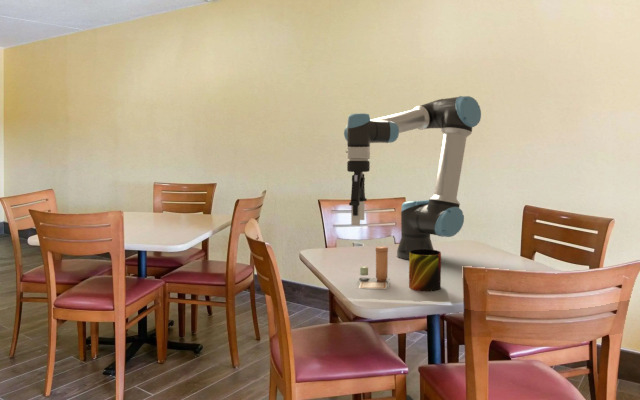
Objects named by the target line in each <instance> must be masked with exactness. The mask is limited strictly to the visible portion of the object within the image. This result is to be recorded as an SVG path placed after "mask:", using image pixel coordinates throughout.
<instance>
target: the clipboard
mask: <svg viewBox="0 0 640 400" xmlns="http://www.w3.org/2000/svg"><path fill="white" fill-rule="evenodd" d="M356 289H357V290H379V291H381V290H384V291H389V290H390V278H389V277H388V278H387V281H385V282H379V281H377V278H376V277H359V278H358V283H357V285H356Z"/></svg>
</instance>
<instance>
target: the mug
mask: <svg viewBox="0 0 640 400" xmlns="http://www.w3.org/2000/svg"><path fill="white" fill-rule="evenodd" d="M408 260H409V261H408V287H409V288H410V289H411V290H412V291H417V292H423V293H425V292H426V293H427V292H429V293H431V292H437V291H439V290H441V287H442V286H441V283H442V282H441V281H442V279H441V278H442V275H441V274H442V271H441V270H442V252H441V251H440V250H437V249H436V250H435V249H434V250H431V249H415V250H411V251H410V252H409V259H408Z"/></svg>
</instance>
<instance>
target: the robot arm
mask: <svg viewBox="0 0 640 400" xmlns="http://www.w3.org/2000/svg"><path fill="white" fill-rule="evenodd" d="M481 119H482V110H481V106H480V105H479V103H478V101H477V100H476V99H475V98H474V97H472V96H469V95H466V96H461V95H459V96H455V97H447V98H440V99H436V100H434V101H430V102H428V103H423V104H422V105H416V106H415V107H414V108H413V109H411V110H407V111H403V112H399V113H394V114H390V115H386V116H381V117H377V118H373V119H371V115H370V114H369V113H364V112H363V113H360V112H359V113H358V112H357V113H350V114H349V115H348V116H347V123H346V127H345V128H344V130H343V135H344V139H345V141H347V149H346V150H345V153H346V154H347V159H348V161H347V162H346V165H347V166H346V168H347V169H346V170H347V172H349V173H353V174H352V175H351V193H350V195H351V196H350V202H349V203H348V206H351V216H350V217H351V218H350V219H351V220H350V221H351V226H361V221H365V202H367V198H366V193H365V191H366V190H365V188H366V187H365V179H366V178H365V173H367V172H368V173H369V172H370V167H371V166H370V163H371V161H370V160H369V159H370V158H371V144H389V143H390V144H391V143H394V142H395V141H397V140H398V138H399V135H400V133H401V134H402V133H406V132H410V131H413V130H416V129H418V130H426V129H428V130H429V129H440V131H441V133H442V134H443V137H442V144H441V145H442V146H441V150H440V156H439V161H438V167H437V168H438V169H437V173H436V174H437V176H436V180H435V186H434V193H433V195H432V196H431V197H429V199H424V200H413V201H412V200H411V201H404V202H403V203H402V204H401V211H400V224H401V225H400V227H401V229H400V231H401V235H400V236H401V237H400V241H399V243H398V247H397V250H396V256H397V258H400V259H404V260H409V252H410V251H411V250H415V249H431V250H435V249H434V246H433V242H432V240H431V235H433V236H438V237H441V238H442V237H445V238H451V237H454V236H456V235H457V234H458V233H460V231H461V230H462V227H463V226H464V222H465V216H464V211H463V210H462V209H461V208H460V202H459V201H458V199H457V196H458V191H459V185H460V178H461V172H462V167H463V161H464V157H465V156H464V155H465V149H466V144H467V138H468V137H469V136H471V134H472V132H473V128H475V127H476V126H477V125H479V124H480V122H481Z"/></svg>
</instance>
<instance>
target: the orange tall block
mask: <svg viewBox="0 0 640 400" xmlns="http://www.w3.org/2000/svg"><path fill="white" fill-rule="evenodd" d="M388 252H389V247H387V246H376V247H375V278H377V281H379V282H385V281H387V278H389V277H388V271H389V270H388V258H389V257H388V256H389V255H388V254H389V253H388Z"/></svg>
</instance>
